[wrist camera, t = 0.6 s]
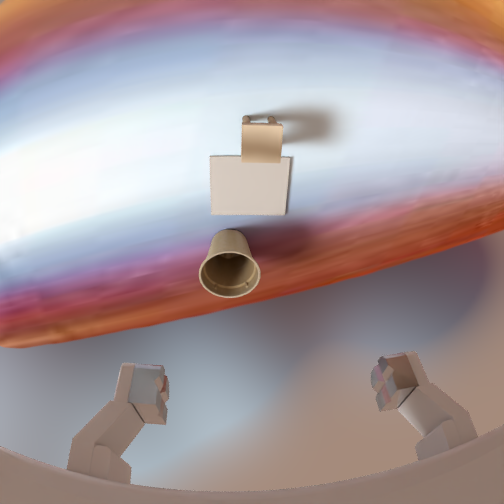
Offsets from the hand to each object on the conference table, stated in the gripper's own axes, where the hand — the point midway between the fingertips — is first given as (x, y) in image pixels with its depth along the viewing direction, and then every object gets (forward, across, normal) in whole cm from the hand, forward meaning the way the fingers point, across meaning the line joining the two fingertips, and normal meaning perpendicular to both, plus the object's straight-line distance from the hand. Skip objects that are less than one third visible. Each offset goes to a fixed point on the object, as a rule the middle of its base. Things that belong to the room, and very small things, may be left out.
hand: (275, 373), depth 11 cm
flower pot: (+39, +2, +21) cm, 45 cm away
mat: (+39, -1, +10) cm, 40 cm away
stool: (+39, -2, +1) cm, 39 cm away
